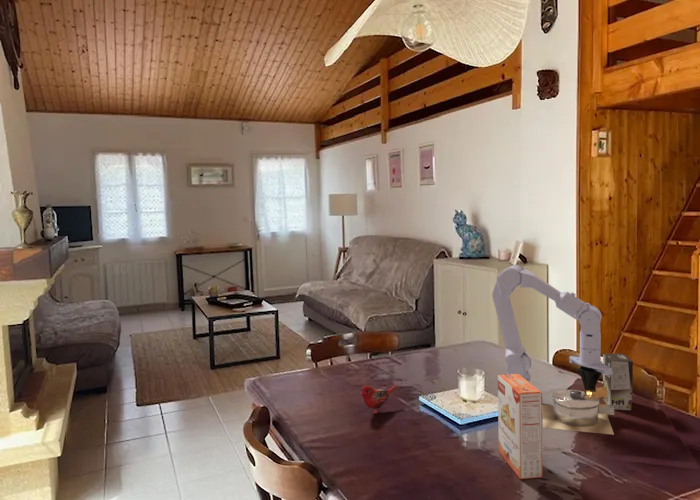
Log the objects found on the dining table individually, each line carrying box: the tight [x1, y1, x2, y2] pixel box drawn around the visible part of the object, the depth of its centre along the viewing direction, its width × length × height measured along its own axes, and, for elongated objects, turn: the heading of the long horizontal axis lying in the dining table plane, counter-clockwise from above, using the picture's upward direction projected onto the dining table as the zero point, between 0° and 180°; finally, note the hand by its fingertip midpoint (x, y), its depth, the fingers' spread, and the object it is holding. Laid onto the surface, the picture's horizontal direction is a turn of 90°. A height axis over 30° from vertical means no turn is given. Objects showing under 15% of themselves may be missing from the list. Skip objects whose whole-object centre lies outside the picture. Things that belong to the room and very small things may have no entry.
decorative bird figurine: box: [360, 384, 398, 416], centre depth 169 cm, size 3×18×10 cm, turn 137°
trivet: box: [542, 404, 615, 436], centre depth 157 cm, size 18×18×1 cm
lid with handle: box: [551, 386, 607, 409], centre depth 158 cm, size 17×13×2 cm
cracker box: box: [497, 373, 544, 480], centre depth 132 cm, size 14×6×21 cm, turn 5°
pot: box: [552, 400, 615, 427], centre depth 157 cm, size 16×12×5 cm
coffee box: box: [602, 353, 634, 411], centre depth 167 cm, size 9×6×16 cm
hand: (589, 392), depth 162 cm, fingers closed
